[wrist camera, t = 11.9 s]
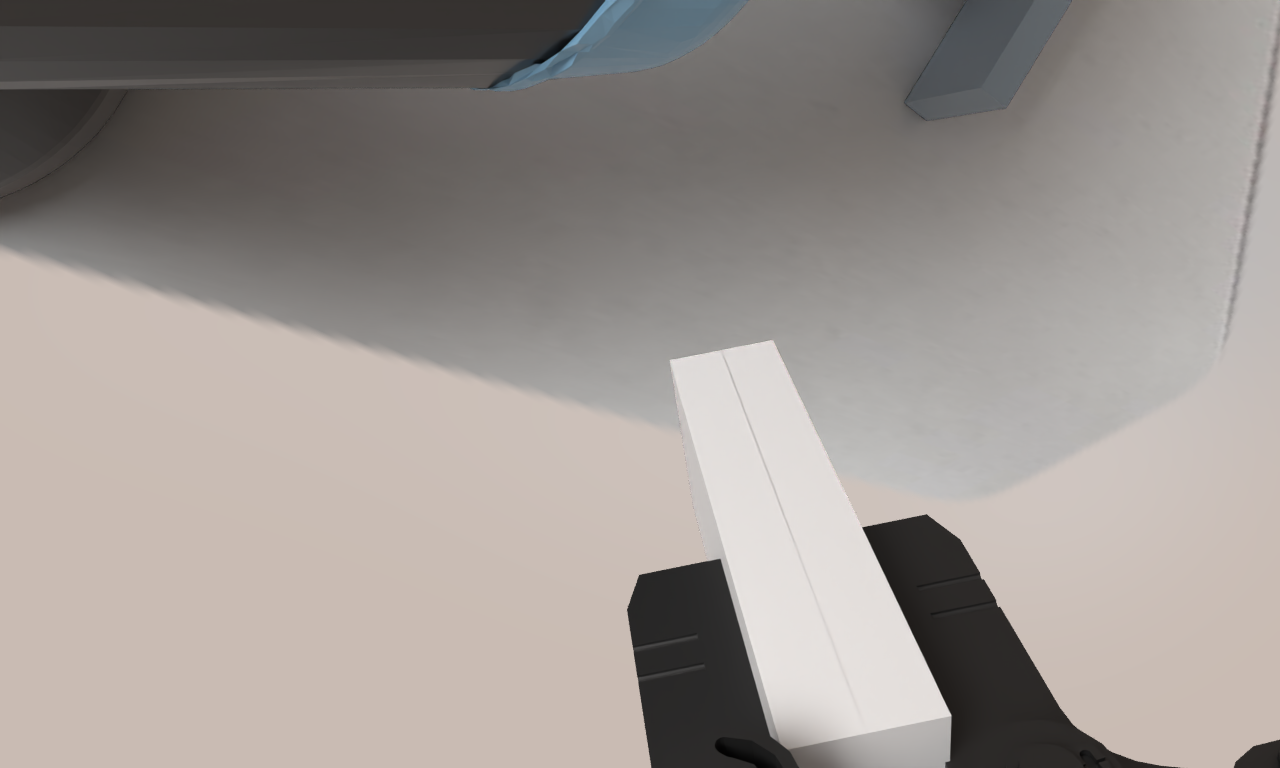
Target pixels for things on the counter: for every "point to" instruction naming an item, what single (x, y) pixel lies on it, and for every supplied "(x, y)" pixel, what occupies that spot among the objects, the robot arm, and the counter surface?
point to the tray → (984, 56)
